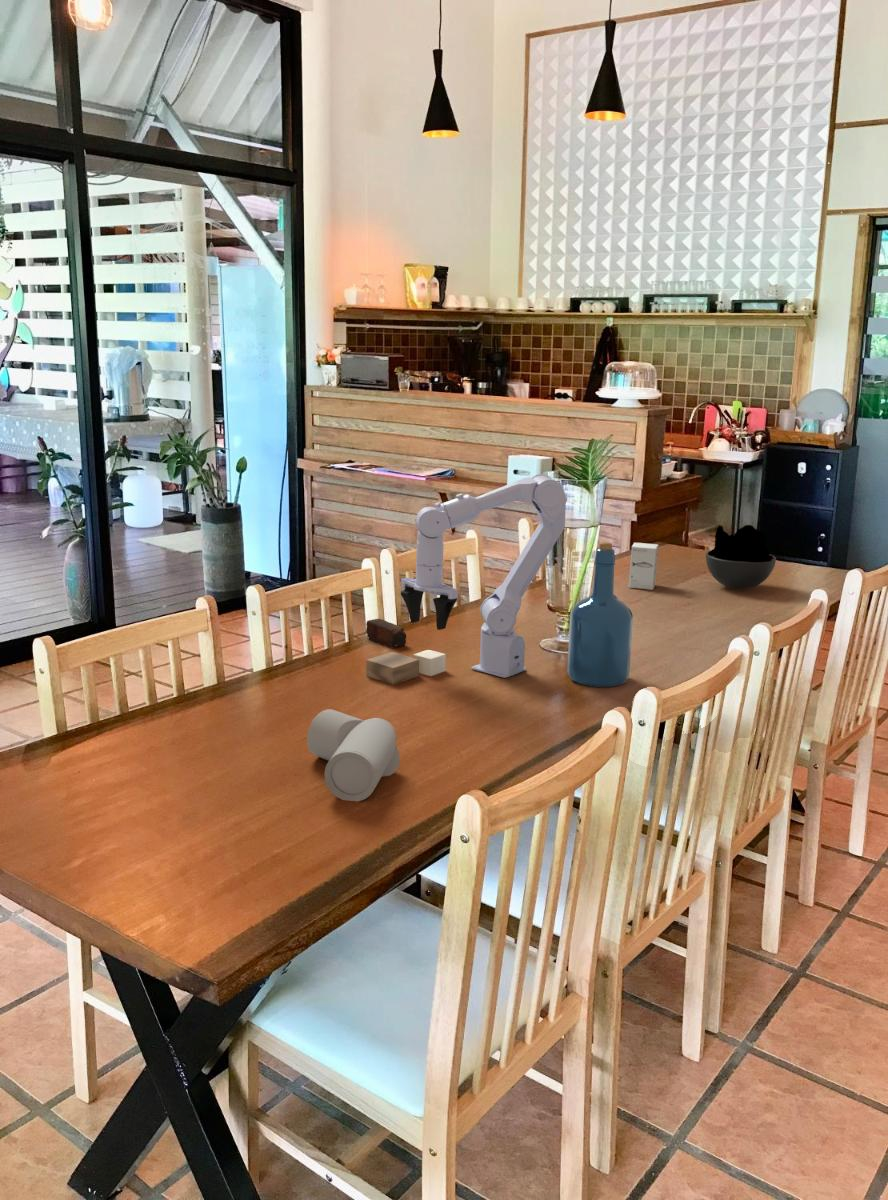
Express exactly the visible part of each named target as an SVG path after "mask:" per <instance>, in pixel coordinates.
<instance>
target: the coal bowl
mask: <svg viewBox="0 0 888 1200" xmlns="http://www.w3.org/2000/svg"><path fill="white" fill-rule="evenodd" d="M714 536H715V537H714V548H713V549H711V550H708V551H706V554H705V562H706V565H707V569H708V570H709V572H710V574H711V575H712V577H713V578H714V579H715V580H716V581H717V582H718V584H721V585H723V586H725V587H726V588H729V589H732V588H733V590H739V589H741V590H749V589H753V588H754V587H758V586H759V585H760V584H762V583H763V582H765V580H767V579H768V578H769V577H770V575H771V573H772V572H773V570H774V569H775V566H776V565H775V564H776V562H777V557H776V556H774V555H772V554H770V553H769V551H768V550H767V546H766V540H767V539H768V537H767V535H766V534H765V532H763V531H761V530H758V529H756V528H755V526H753V525H751V524H746V525H744V526H742V527H740V528H738V529H736V532H735V533H734V534H729V533H728V532H727V531H724V527H723V525H720V524H719V525H718V526H717V529H716V532H715V535H714Z"/></svg>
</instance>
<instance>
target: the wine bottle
mask: <svg viewBox="0 0 888 1200" xmlns="http://www.w3.org/2000/svg"><path fill="white" fill-rule="evenodd" d="M594 556H595V557H594V561H593V564H594V571H593V572H594V573H593V580H592V593H591V594H590V595H588V596H587V597H585V598H583V599H581V600H580V601H578V602H577V603H575V604H574V605H573V607H572V608H571V611H570V614H569V631H568V633H569V634H568V650H567V653H568V654H567V669H566V671H567V674H568V676H569V677H570V680H571V681H573V682H575V683H578V684H580V685H583V686H589V687H595V688H611V687H615V686H621V685H624V683H626V682H627V681H628V679H629V677H630V671H631V669H630V668H631V655H632V640H633V625H634V615H633V613H632V611H631V609H630V608H629V607H628V605H627V604H626V603H625V602H624V601H622V600H620V599H619V598H618V596H616V595H615V594H614V589H615V588H614V586H615V585H614V583H615V580H614V579H615V578H614V577H615V565H616V559H615V558H616V555H615V549H613V543H612V542H610V541H600V542H599V543H598V548H596V550H595V555H594Z"/></svg>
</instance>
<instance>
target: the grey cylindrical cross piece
mask: <svg viewBox="0 0 888 1200" xmlns="http://www.w3.org/2000/svg"><path fill="white" fill-rule="evenodd" d="M306 743H307V747H308V750H309V752H311V754H312V755H314V756H316V757H319V758H321V759H323V760H325V761H328V762H327V763H326V765H325V769H324V781H325V784H326V786H327V787H328V789H329V790H330V792H331V793H332V794H333V795H334V796H335V797H337V798H338V799H340V800H342V801H350V802H360V801H364V800H365V799H368V797H370V796H371V795H372V793H373V792H374V790H375V789H376V787H377V785H378V784H379V782H380V780H381V778H382V777H387V776H388V777H390V776H392V775H393V774H394V773H396V772H397V770H398V769H399V766H400V761H401V759H400V758H401V757H400V752H399V749H398V746H397V734H396V731H395V728H394V726H393V725H392V724H391V723H390V722H389V721H388V720H386V719H383V718H380V717H373V718H368V719H365V720H363V719H362V718H358V717H355V716H352V715H349V714H346V713H344V712H340V711H338V710H334V709H331V708H330V709H329V708H327V709H324V710H322V711H320V712H319V713H318V714H316V716H315V717H314V718H313V719H312V721H311V723H310V725H309V727H308V731H307V735H306Z"/></svg>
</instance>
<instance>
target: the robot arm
mask: <svg viewBox="0 0 888 1200" xmlns="http://www.w3.org/2000/svg"><path fill="white" fill-rule="evenodd" d="M455 497H456V498H452V499H451V500H447V501H445V502H442V503H441V502H439V501H438V502H435V503H434V505H435V507H433V506H425V507H423V508H421V509H420V510H419V511H418V513H417V514H416V518H415V520H414V521H415V525H416V528H417V529H418V530H417V535H416V536H417V537H416V538H417V542H416V552H415V553H416V555H415V557H416V558H415V559H416V561H415V578H413V577H412V578H410V577H404V578H400V581H401V582H400V584H401V585H400V587H401V588H402V589H403V590H401V591H400V595H401V597H402V599H403V600H404V603H405V606H406V609H407V612H408V615H409V620H410V624H411V623H412V624H414V623H417V622H420V618H421V605H422V601H423V600H422V599H423V596H424V593H426V594H427V593H428V594H430V595H435V596H439V597H435V598H433V600H432V601H433V604H434V608H435V614H436V615H435V616H436V617H435V618H436V619H435V620H436V623H435V624H436V630H438V631H440V630H444V629H446V627H447V624H448V621H449V618H450V614H451V611H452V609H453V608H454V606H455V605H456V602H457V601H458V598H459V597H458V595H459V588H455V587H452V586H449V585H447V584H445V583H443V574H444V573H443V572H444V571H443V570H444V542H443V541H444V540H443V539H444V533H445V532H446V530H452V529H454V528H457V527H459V526H463V525H466V524H469V523H471V522H474V521H477V520H478V517H479V516H480V514H481V513H482V512H484V511H488V510H491V509H494V508H498V507H500V506H504V505H508V504H510V503H513V502H520V503H525V504H528V505H533V507H534V508H535V511H536V514H537V517H538V521H539V523H538V525H537V526H536V529H534V531H533V533H532V535H531V536H530V538H529V539H528V541H527V543H526V545H525V546H524V547H523V549H522V551H521V553H520V554H519V556H518V558H517V559H516V561H515V562H514V564H513V566H512V567H511V569H510V570H509V573H508V574H507V576H506V577H505V579H504V581H503V583H502V584H500V585H499V586H497V588H495V589H494V591H493V593H492V594H491V595H490V596H488V597H487V598H485V599H484V600H483V601H482V603H481V605H480V610H479V611H480V615H481V617H482V619H483V620H484V622H483V624H482V626H481V627H480V647H479V648H480V653H479V654H480V655H479V663H478V664H475V665H473V666H471V670H474V671H477V672H481V673H486V674H488V675H489V674H490V675H493V676H496V677H500V678H503V679H504V678H505V679H506V678H510V677H512V676H515V675H517V674H519V673H522V672H524V671H526V670H527V668H526V667H525V655H526V654H525V651H526V643H525V639H524V637H522V636H521V635H519V634H517V633H516V632H515V625H516V622H517V614H518V612H519V611H520V610H521V609H520V608H521V605H522V599H523V597H524V595H525V593H526V592H527V590H528V589H529V587H530V585H531V583H532V581H533V580H534V578H535V577H536V575H537V573H538V572H539V570H540V568H541V567H542V565H543V564H544V562H545V561H546V559H547V557H548V555H549V554H550V552H551V551H552V548H553V547H554V546H555V544H556V542H557V541H558V539H559V538H560V536H561V534H562V532H563V531H564V529H565V526H566V506H567V505H566V503H567V500H568V498H567V495H566V492H565V490H564V488H563V486H562V484H561V483H560V482H558V481H557V480H555V479H552V478H551V477H549V475H547V474H543V473H542V474H535V475H533V476H530V477H523V478H521V479H518V480H516V481H513V482H511V483H508V484H506V485H503V486H500V487H499V488H496V489H494V490H491V491H488V492H486V493H484V494H481V495H478V496H476V497H474V496H472V495H471V494H467V493H466V494H465V495H464V494H463V493H459V494H456V495H455Z"/></svg>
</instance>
